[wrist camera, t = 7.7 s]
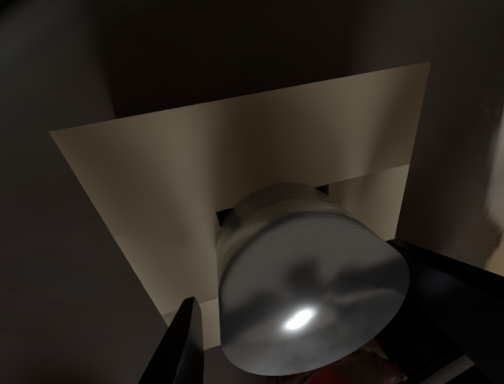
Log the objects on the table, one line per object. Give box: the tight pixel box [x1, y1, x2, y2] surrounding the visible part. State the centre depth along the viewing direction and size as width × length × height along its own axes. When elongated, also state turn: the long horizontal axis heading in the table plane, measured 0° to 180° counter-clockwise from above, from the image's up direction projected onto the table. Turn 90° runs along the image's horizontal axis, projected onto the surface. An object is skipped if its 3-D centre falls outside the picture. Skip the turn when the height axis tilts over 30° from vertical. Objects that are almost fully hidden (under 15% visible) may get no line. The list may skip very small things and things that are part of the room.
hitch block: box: [49, 61, 431, 350], centre depth 12 cm, size 14×14×5 cm
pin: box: [216, 183, 410, 376], centre depth 11 cm, size 7×7×9 cm
